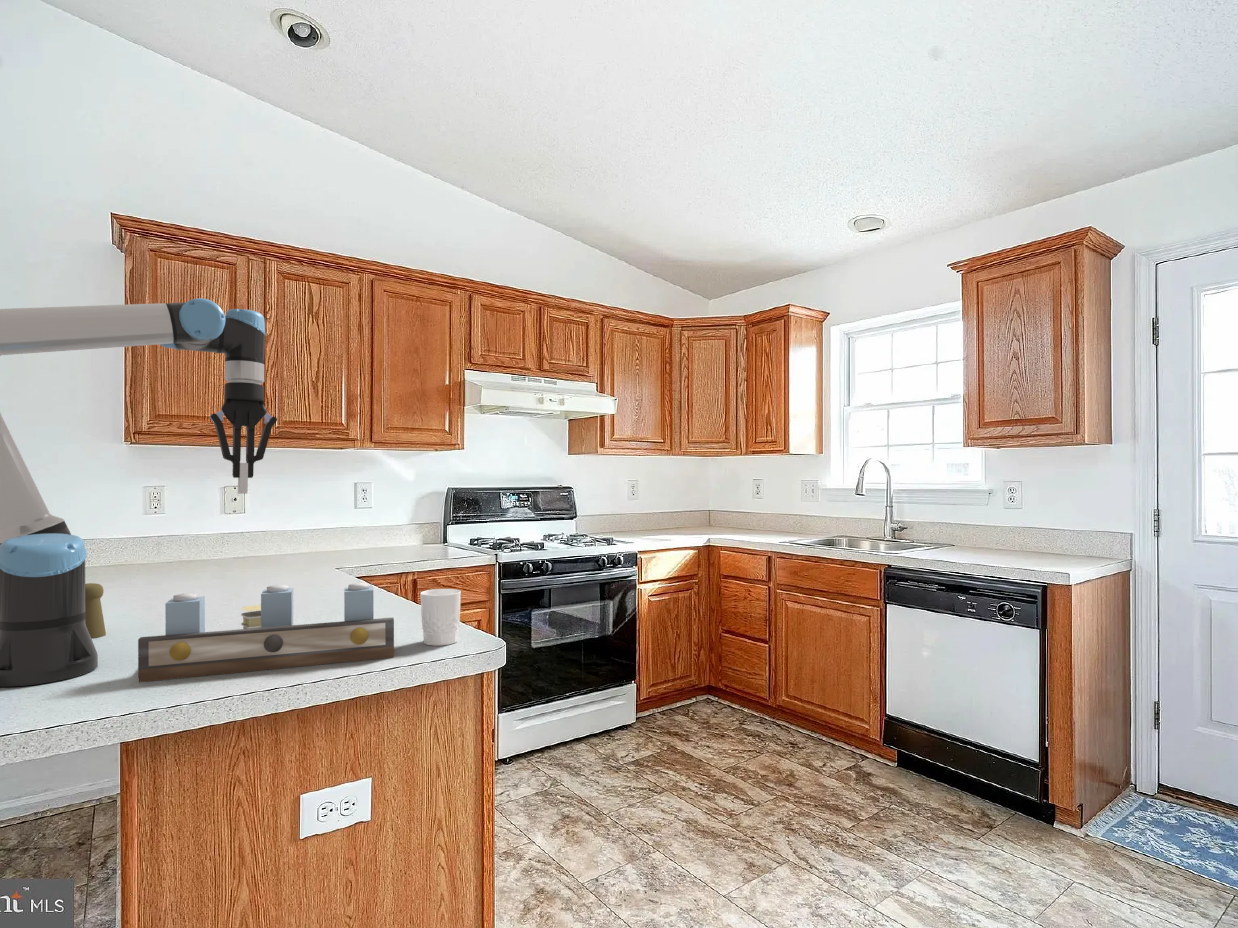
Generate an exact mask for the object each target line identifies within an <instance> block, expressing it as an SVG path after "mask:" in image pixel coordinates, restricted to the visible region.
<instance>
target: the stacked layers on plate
mask: <svg viewBox="0 0 1238 928" xmlns="http://www.w3.org/2000/svg"><path fill="white" fill-rule="evenodd" d="M241 610H243V611H246V612H242V613H241V616H242V617H243V618H242V619H243V620H242V622H241V623H240V625H241V626H242V629H252V628H261V603H260V604H255V605H246V606H243V607H241Z"/></svg>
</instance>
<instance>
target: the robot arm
mask: <svg viewBox="0 0 1238 928" xmlns="http://www.w3.org/2000/svg"><path fill="white" fill-rule="evenodd" d="M153 345H154V346H155V345H160V346H161V347H163V348H166V349H175V350H177V351H180V350H181V351H193V352H194V351H195V352H203V353H204V352H205V353H214V354H224V358H225V359H224V364H225V365H224V380H225V381H226V383H225V384H224V394H223V396H224V397H223V399H224V400H223V404H222V406H221V409H220V410H219V411H217V412H215V413H211V414H210V415H209V420H210V421H211V423H213V424H214V425H213V426H214V427H215V431H216V435H217V439H218V443H219V446H220V451H221V454H222V458H223V459H224V460H225V461H229V462H231V463H232V475H231V476H232V477H233V478H234V479H235V478H237V494H239V495H240V494H242V495H243V494H248V490H249V489H248V487H249V483H248V481H249V479H252V478H253V477H254V469H255V468H254V464H255V463H256V462H258V461H262V460H263V459H264V457H265V453H266V449H267V446H268V443H269V439H270V435H271V433H272V429H273V427H274V425H275V424H276V423H277V421H278V418H277V417H276V416H272V415H271V414H269V413H268V412H267V409H266V407H265V387H264V385H262V384H263V383H265V358H266V357H265V354H266V353H265V351H266V323H265V317H264V315H263V314H262V313H260V312H259V311H256V310H252V309H244V308H243V309H241V308H232V309H231V308H230V309H228V310H227V311H226V313H224V311H223V309H222V308H221V307H220V306H219V304H217V303H216V302H214V301H213V300H210V299H208V298H203V297H202V298H201V297H200V298H199V297H198V298H193V299H190V300H187V301H185V302H170V303H169V302H167V303H165V302H164V303H161V302H160V303H131V304H130V303H129V304H105V305H101V304H100V305H77V306H76V305H75V306H74V305H73V306H49V307H48V306H47V307H46V306H45V307H25V308H24V307H21V308H18V307H17V308H0V357H1V356H11V355H12V356H13V355H23V354H25V355H26V354H39V353H40V354H41V353H53V352H54V353H55V352H66V351H81V350H82V351H83V350H84V351H85V350H98V349H111V348H124V347H125V348H126V347H128V348H129V347H138V346H139V347H140V346H153ZM224 416H225V418H226V419H227V421H228V422H229V423H230V424H231V426H232V454H231V450H230V447H229V443H228V438H227V435H226V431H225V427H224V423H223V421H224ZM262 419H263V424H264V426H263V428H262V432H261V436H260V440H259V442H258V446H257V449H256V452H255V432H256V431H255V430H256V426H257V425H258V424H259V423H260V421H261V420H262ZM242 427H245V431H246V434H245V436H246V438H245V440H246V441H245V443H246V444H245V461H246V462H241V455H242V454H241V452H242V451H241V450H242V447H241V446H242ZM87 554H88V552H87V549H86V545H85V541H84V540H83V538H81V537H80V536H78V535H74V534H72V533H71V531H70V529H69V527H68V525H67V523H66V522H65V519H64V518H62V517H59V516H55V515H53V514H51V513H50V511H49V509H48V507H47V505H46V503H45V501H44V499H43V497H42V495H41V493H40V491H39V489H38V487H37V484H36V483H35V480H34V479H33V476H32V474H31V472H30V471H29V468H28V466H27V464H26V462H25V461H24V458H23V456H22V454H21V451H20V450H19V448H18V446H17V444H16V442H15V440H14V438H13V436H12V434H11V431H10V430H9V427H8V426H7V423H6V422H5V419H4V418H3V416H2V413H1V412H0V687H1V688H2V687H5V688H6V687H23V686H25V687H26V686H33V685H40V684H46V683H52V682H59V681H63V680H68V679H71V678H75V677H78V676H83V675H85V674H87V673H91V672H92V671H94V670H96V669H97V668H98V666H99V655H98V654H99V653H98V652H97V651H98V650H97V649H96V646H95V644H94V642H93V640H92V639H91V637H90V634H89V632H88V629H87V627H86V624H85V584H86V559H87Z"/></svg>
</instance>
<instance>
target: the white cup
mask: <svg viewBox="0 0 1238 928" xmlns="http://www.w3.org/2000/svg"><path fill="white" fill-rule="evenodd" d="M461 594H462V591H461V590H460V589H456V588H455V589H454V588H435V589H427V590H424V591H421V592H420V610H421V615H420V616H421V626H422V628H421V629H422V632H423V633H422V634H423V644H424V645H427V646H432V647H434V646H435V647H437V646H440V647H441V646H448V645H453V644H456V643H457V642H458V641H459V631H460V629H459V628H460V621H461V619H460V617H461V599H462V597H461V596H462V595H461Z"/></svg>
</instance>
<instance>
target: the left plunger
mask: <svg viewBox="0 0 1238 928" xmlns="http://www.w3.org/2000/svg"><path fill="white" fill-rule="evenodd" d="M205 603H206V597H205V596H203V595H202V596H199V593H196V592H195V593H192V592H190V593H179V594H174V595H173V597H172V598H170V599H169V600H168V601H166V602H165V609H164V610H165V635H175V634H188V633H201V632H206V612H205V611H206V604H205Z"/></svg>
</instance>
